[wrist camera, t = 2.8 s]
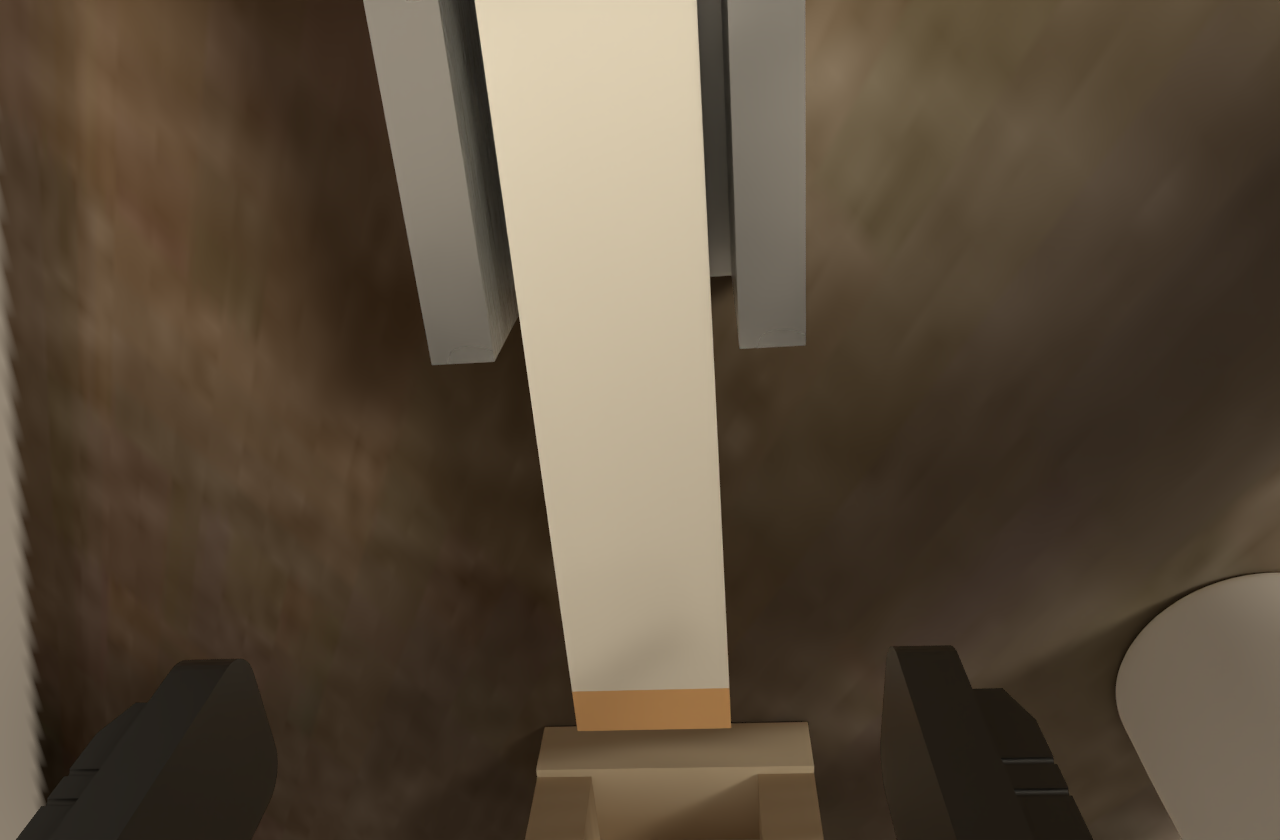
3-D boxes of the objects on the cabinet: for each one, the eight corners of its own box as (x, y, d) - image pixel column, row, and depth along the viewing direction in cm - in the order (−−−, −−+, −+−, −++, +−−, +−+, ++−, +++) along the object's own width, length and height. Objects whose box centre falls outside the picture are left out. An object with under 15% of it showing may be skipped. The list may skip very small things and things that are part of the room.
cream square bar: (466, -383, 13) (407, -472, 11) (677, -408, 13) (672, -507, 10) (592, 633, 21) (577, 731, 18) (726, 629, 21) (731, 728, 18)
